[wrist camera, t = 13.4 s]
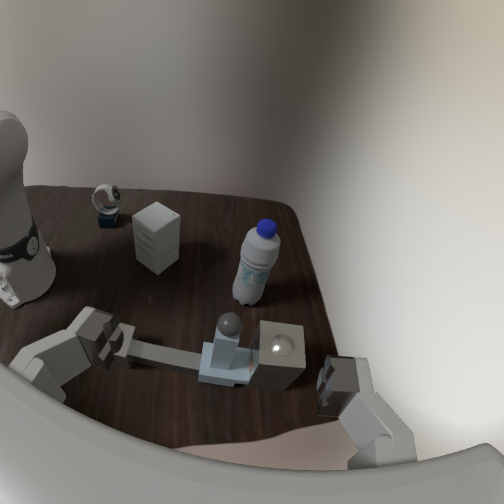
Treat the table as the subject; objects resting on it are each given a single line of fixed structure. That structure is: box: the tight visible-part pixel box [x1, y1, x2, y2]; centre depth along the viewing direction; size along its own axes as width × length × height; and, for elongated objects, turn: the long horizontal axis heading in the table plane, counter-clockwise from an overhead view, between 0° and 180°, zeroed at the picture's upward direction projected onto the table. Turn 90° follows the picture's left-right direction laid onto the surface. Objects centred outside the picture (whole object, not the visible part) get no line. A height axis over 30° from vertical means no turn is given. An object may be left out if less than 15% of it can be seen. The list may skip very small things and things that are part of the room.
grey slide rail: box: [114, 320, 306, 391], centre depth 42 cm, size 30×8×11 cm, turn 88°
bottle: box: [233, 219, 280, 306], centre depth 52 cm, size 7×7×20 cm
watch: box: [92, 184, 122, 229], centre depth 63 cm, size 6×8×11 cm
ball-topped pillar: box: [198, 312, 251, 387], centre depth 39 cm, size 8×6×17 cm
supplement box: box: [132, 202, 180, 275], centre depth 57 cm, size 7×7×13 cm
